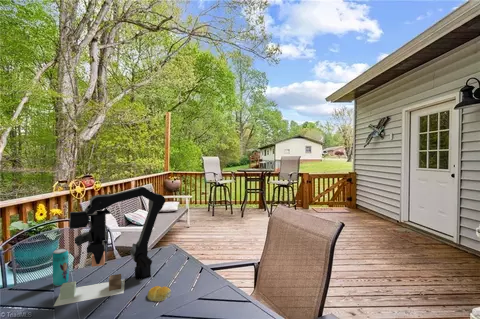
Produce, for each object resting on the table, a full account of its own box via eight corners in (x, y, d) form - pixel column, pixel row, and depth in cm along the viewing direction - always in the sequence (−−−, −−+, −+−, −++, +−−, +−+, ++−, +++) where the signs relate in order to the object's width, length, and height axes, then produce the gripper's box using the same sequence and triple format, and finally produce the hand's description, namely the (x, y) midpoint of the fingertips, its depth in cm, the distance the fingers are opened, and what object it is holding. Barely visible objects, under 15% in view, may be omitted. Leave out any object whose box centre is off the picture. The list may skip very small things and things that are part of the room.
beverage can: (60, 288, 111) (60, 253, 110) (49, 286, 112) (49, 252, 112) (71, 281, 116) (71, 248, 116) (61, 280, 117) (60, 247, 117)
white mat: (124, 280, 117) (124, 279, 117) (123, 294, 105) (123, 293, 105) (62, 291, 108) (62, 290, 108) (53, 308, 96) (53, 306, 96)
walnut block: (121, 283, 113) (121, 273, 113) (120, 288, 108) (120, 278, 108) (109, 286, 111) (109, 275, 111) (108, 290, 107) (108, 280, 107)
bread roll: (154, 291, 108) (154, 281, 108) (173, 293, 106) (173, 284, 106) (142, 301, 100) (142, 291, 100) (163, 304, 98) (163, 294, 98)
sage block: (75, 292, 106) (75, 281, 106) (73, 297, 102) (73, 286, 102) (63, 294, 104) (62, 283, 104) (60, 299, 100) (60, 288, 100)
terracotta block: (105, 261, 113) (104, 250, 113) (103, 265, 109) (103, 254, 109) (93, 262, 111) (93, 252, 111) (91, 266, 107) (91, 256, 107)
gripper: (80, 222, 115) (80, 257, 115) (71, 233, 98) (71, 274, 98) (108, 219, 120) (108, 253, 120) (104, 230, 102) (104, 269, 102)
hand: (98, 261), depth 110 cm, fingers closed on terracotta block, 4 cm apart
